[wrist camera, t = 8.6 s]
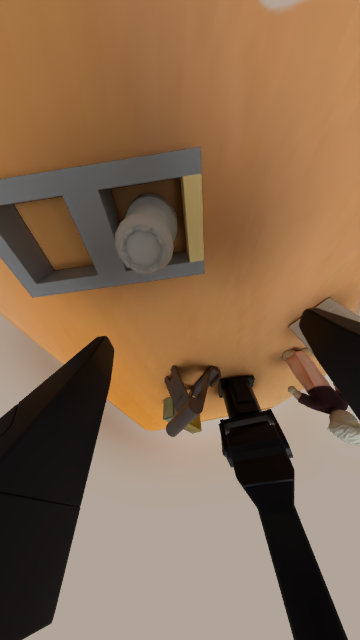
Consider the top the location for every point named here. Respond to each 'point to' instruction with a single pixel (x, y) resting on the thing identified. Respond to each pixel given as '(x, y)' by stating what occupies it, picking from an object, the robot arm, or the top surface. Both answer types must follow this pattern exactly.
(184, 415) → the portable electronic device stand
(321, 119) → the top surface
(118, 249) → the rook chess piece
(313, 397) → the grandmother figurine
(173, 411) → the medication box
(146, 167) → the rail
